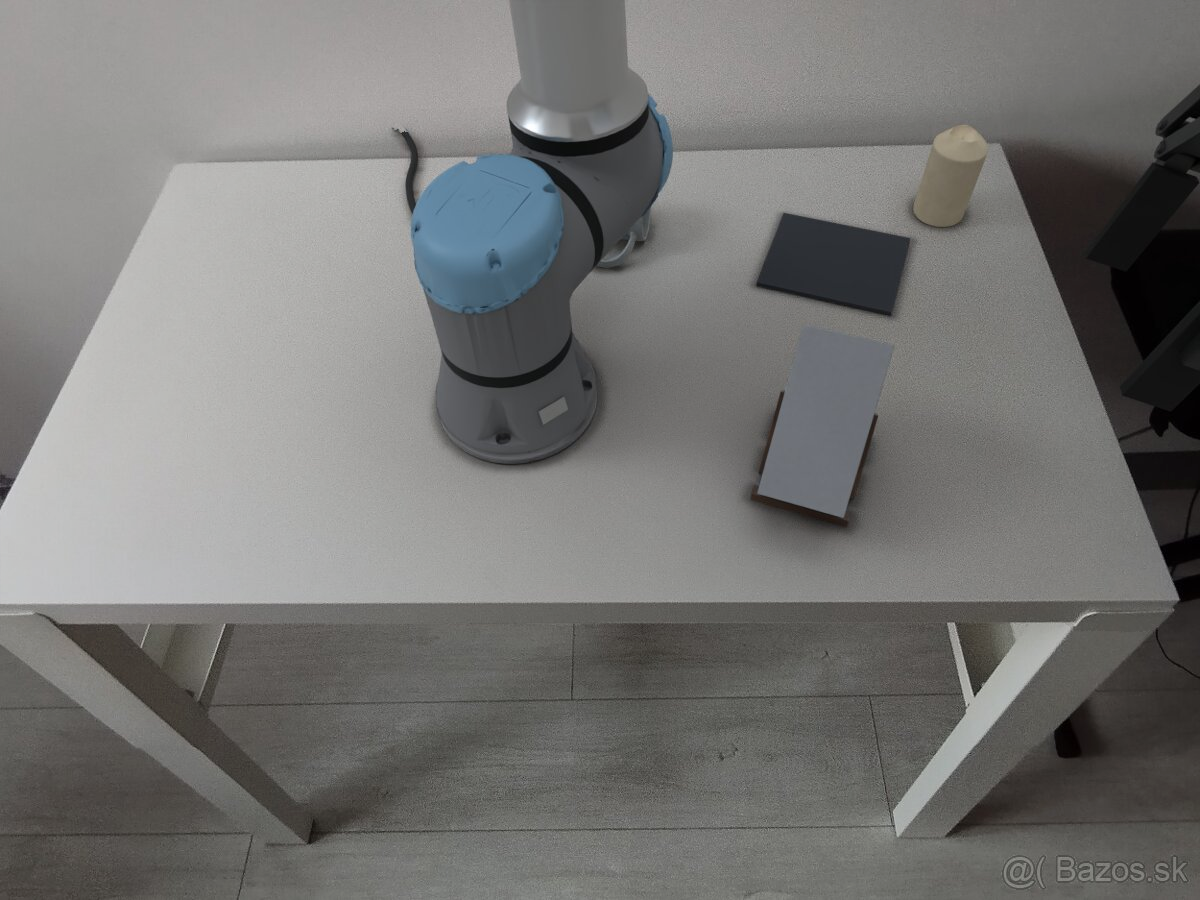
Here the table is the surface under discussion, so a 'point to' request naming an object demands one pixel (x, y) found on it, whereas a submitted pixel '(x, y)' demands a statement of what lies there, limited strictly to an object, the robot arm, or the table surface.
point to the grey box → (825, 419)
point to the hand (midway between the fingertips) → (1122, 324)
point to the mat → (835, 263)
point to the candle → (950, 176)
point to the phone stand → (798, 508)
